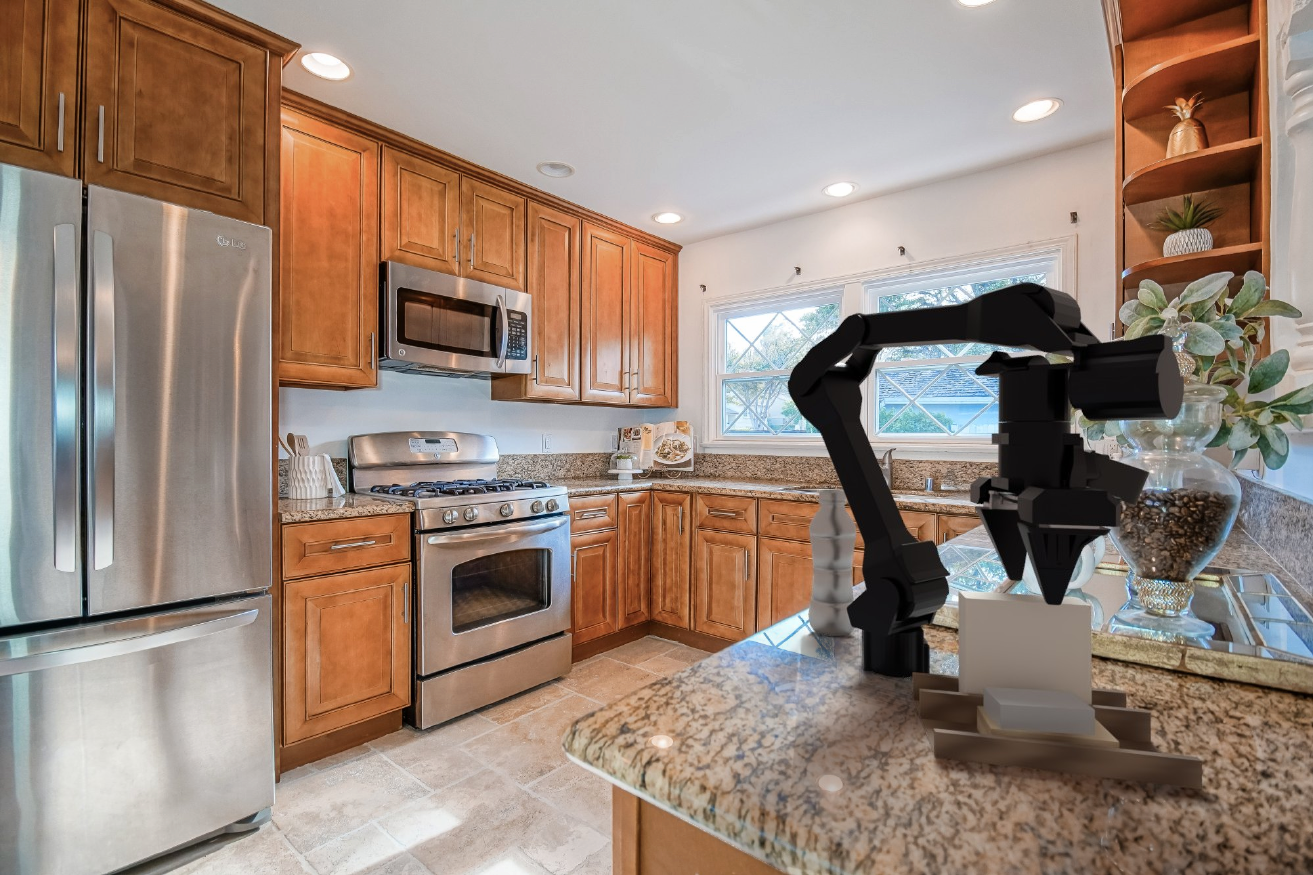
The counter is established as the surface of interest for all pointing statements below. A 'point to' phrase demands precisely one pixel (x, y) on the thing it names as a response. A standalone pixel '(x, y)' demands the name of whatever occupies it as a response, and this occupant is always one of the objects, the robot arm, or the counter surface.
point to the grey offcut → (1039, 711)
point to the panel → (1024, 643)
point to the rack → (1135, 759)
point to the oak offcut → (1047, 733)
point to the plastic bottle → (832, 565)
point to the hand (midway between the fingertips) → (1032, 591)
